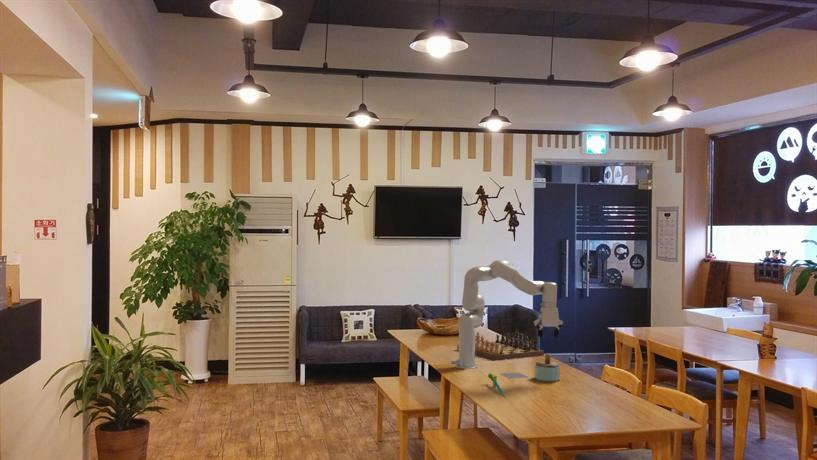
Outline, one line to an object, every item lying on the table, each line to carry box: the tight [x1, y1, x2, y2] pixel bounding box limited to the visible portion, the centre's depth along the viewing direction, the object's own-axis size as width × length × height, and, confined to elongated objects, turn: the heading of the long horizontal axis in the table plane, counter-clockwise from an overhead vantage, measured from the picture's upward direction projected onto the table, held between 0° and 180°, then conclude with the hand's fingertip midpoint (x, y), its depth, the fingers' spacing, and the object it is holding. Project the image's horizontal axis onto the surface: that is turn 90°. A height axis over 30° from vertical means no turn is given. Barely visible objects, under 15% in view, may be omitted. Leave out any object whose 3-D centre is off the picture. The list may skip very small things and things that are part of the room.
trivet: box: [499, 372, 528, 379], centre depth 374 cm, size 12×12×1 cm
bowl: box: [534, 363, 561, 383], centre depth 367 cm, size 13×13×8 cm
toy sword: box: [487, 372, 506, 398], centre depth 341 cm, size 3×6×30 cm
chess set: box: [457, 328, 545, 361], centre depth 446 cm, size 40×40×15 cm
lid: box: [535, 353, 560, 368], centre depth 367 cm, size 12×12×6 cm
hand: (548, 336), depth 367 cm, fingers open, 9 cm apart
